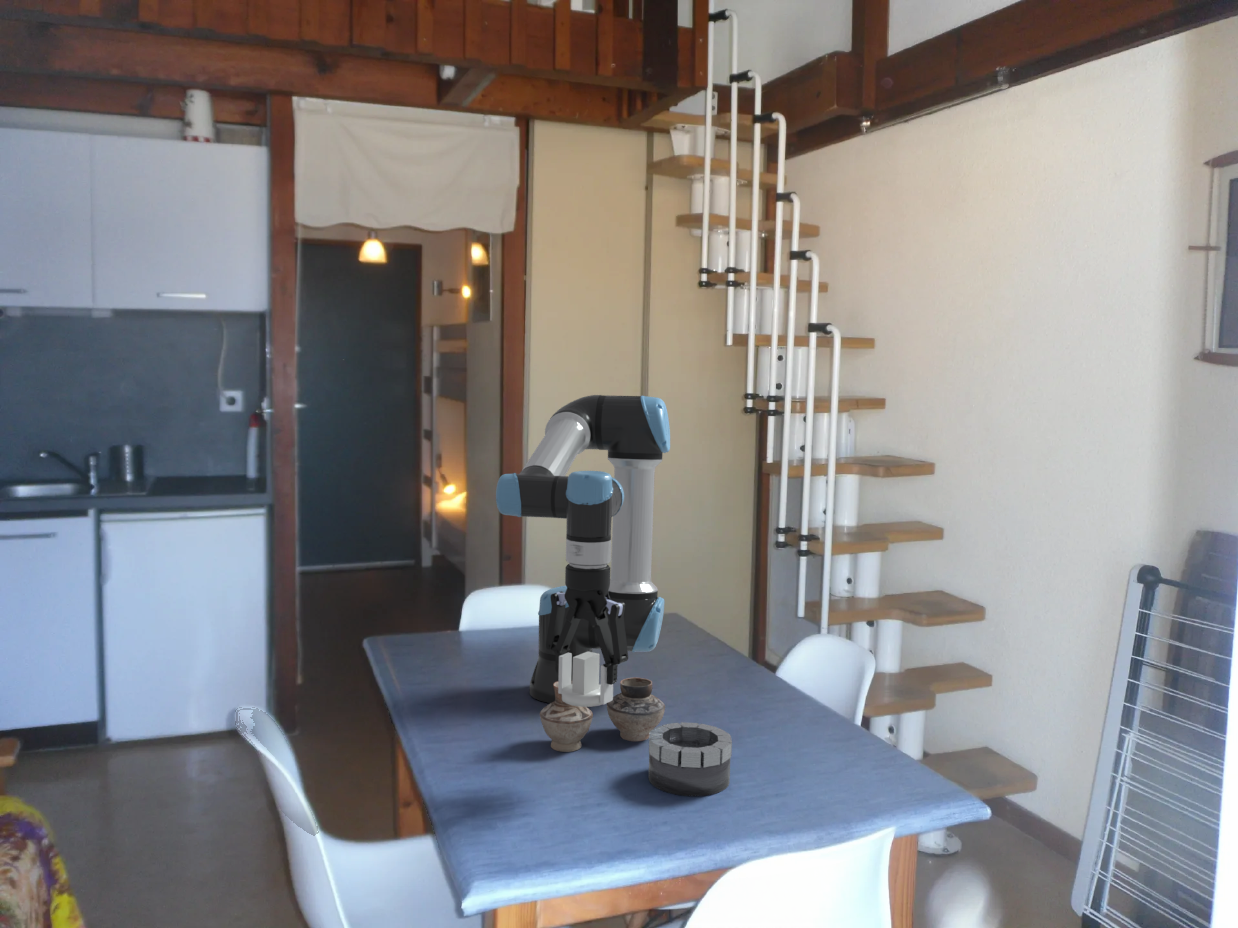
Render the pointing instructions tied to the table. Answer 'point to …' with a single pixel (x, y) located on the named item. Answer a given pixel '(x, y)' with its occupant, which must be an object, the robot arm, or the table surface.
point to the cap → (584, 681)
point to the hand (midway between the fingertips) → (585, 696)
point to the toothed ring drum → (689, 759)
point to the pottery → (627, 711)
